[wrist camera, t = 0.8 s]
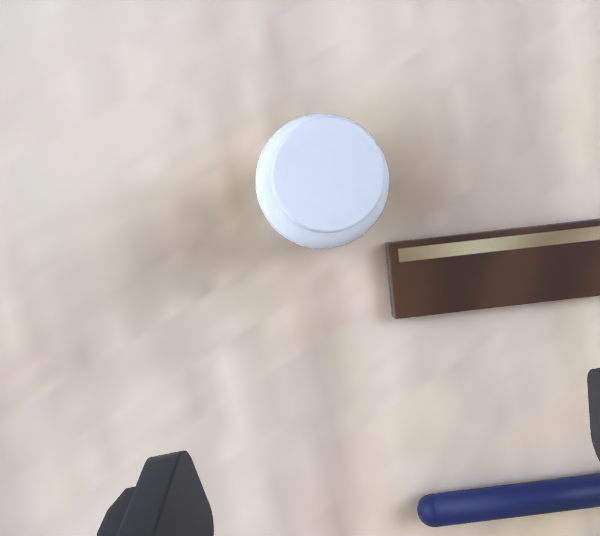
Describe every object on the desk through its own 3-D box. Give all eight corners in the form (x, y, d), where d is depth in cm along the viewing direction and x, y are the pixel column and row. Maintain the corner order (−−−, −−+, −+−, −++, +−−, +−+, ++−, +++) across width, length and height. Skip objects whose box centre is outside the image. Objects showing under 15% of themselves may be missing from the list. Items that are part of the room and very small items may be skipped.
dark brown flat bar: (392, 316, 28) (395, 319, 28) (384, 242, 28) (388, 243, 27) (700, 281, 29) (713, 282, 28) (696, 207, 28) (709, 207, 28)
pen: (415, 519, 29) (423, 537, 28) (412, 489, 29) (420, 505, 27) (673, 487, 30) (696, 503, 28) (671, 458, 29) (695, 472, 28)
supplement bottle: (351, 131, 28) (387, 77, 18) (374, 231, 28) (421, 232, 18) (251, 154, 28) (233, 114, 18) (275, 255, 28) (270, 268, 18)
